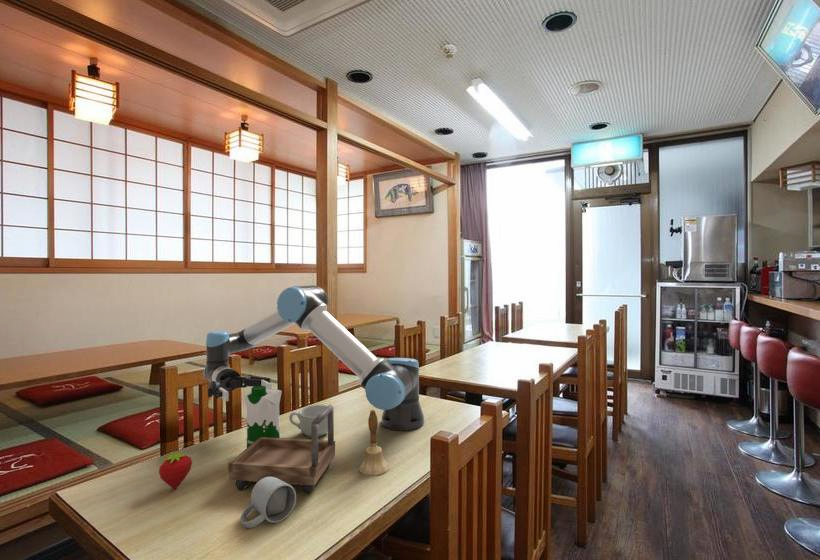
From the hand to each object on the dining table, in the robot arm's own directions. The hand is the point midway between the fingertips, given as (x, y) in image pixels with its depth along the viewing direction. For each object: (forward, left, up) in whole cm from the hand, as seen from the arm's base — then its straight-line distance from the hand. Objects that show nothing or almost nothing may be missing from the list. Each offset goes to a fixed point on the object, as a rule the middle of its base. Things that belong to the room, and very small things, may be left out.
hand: (249, 392), depth 128 cm
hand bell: (-43, +12, -16) cm, 47 cm away
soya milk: (-8, +6, -16) cm, 19 cm away
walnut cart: (-21, +20, -16) cm, 33 cm away
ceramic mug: (-24, +37, -16) cm, 47 cm away
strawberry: (+4, +28, -16) cm, 33 cm away
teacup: (-17, -9, -16) cm, 25 cm away
